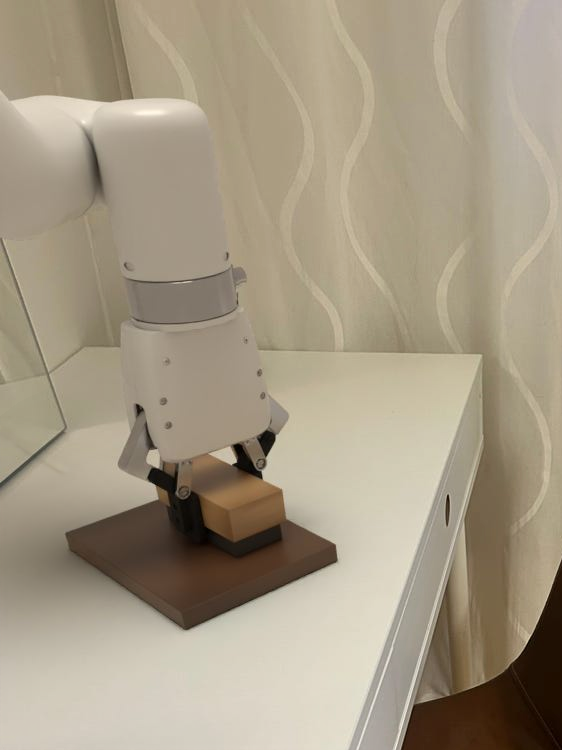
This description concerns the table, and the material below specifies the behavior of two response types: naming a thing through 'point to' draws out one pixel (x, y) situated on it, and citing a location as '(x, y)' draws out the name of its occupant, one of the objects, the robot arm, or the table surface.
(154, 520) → the board
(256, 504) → the brush
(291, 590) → the table surface
